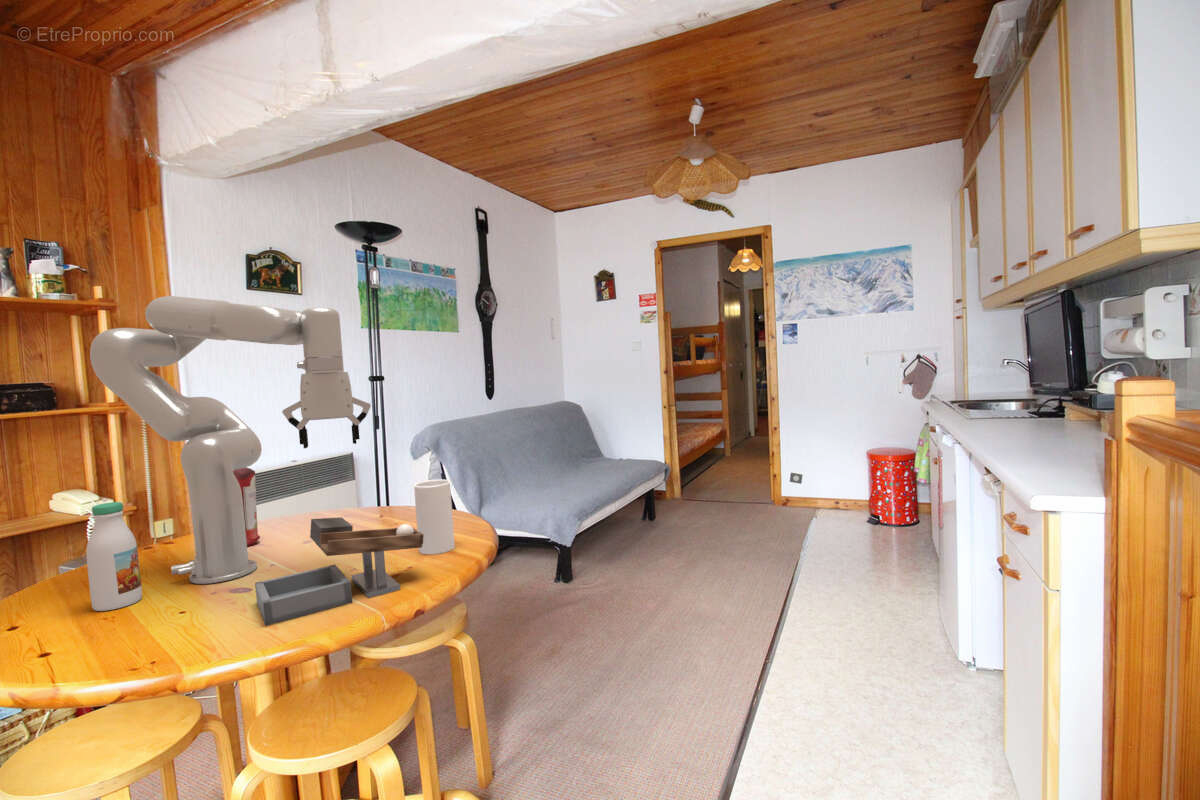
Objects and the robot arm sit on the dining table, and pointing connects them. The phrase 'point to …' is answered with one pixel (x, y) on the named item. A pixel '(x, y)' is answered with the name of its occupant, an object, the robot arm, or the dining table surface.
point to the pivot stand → (375, 576)
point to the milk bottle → (112, 560)
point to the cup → (434, 516)
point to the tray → (302, 594)
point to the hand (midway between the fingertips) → (330, 445)
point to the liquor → (248, 503)
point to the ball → (404, 530)
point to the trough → (358, 538)
